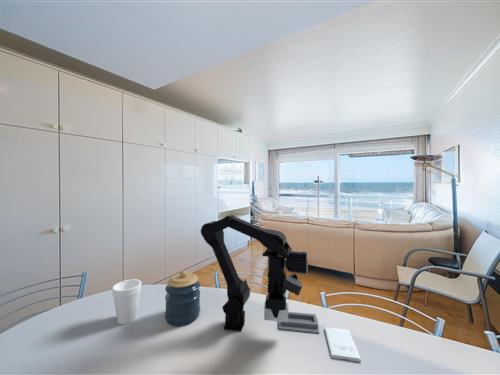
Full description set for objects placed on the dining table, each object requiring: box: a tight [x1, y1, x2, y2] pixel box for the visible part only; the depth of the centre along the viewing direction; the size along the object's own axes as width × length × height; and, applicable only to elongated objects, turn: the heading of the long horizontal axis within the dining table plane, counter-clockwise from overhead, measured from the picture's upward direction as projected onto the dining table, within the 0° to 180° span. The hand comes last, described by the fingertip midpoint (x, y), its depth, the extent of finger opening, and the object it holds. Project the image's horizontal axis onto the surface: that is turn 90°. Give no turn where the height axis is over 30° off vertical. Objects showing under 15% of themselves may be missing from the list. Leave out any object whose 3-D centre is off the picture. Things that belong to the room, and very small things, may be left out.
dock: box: [278, 311, 320, 334], centre depth 78 cm, size 14×10×2 cm
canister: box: [164, 270, 201, 327], centre depth 81 cm, size 13×13×18 cm
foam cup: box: [111, 278, 142, 325], centre depth 79 cm, size 10×9×13 cm
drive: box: [263, 302, 289, 322], centre depth 71 cm, size 8×2×5 cm, turn 82°
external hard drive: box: [324, 326, 362, 363], centre depth 67 cm, size 2×8×12 cm
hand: (276, 315), depth 71 cm, fingers closed on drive, 2 cm apart
